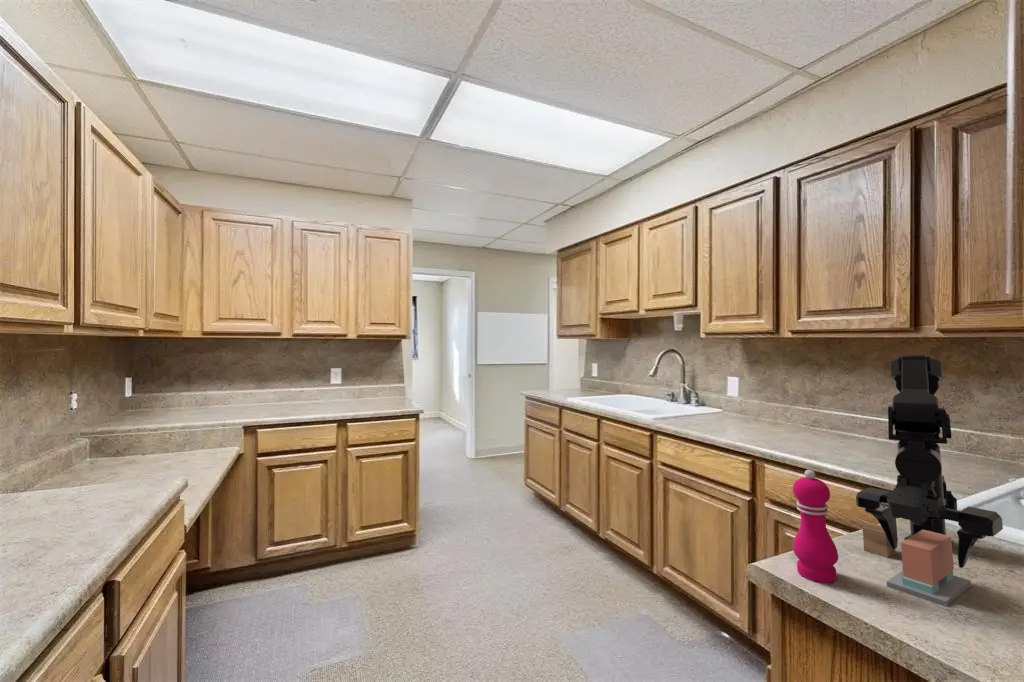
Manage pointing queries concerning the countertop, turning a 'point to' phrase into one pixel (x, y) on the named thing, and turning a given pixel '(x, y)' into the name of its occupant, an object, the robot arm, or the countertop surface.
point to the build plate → (932, 588)
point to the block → (877, 541)
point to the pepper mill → (814, 531)
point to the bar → (927, 557)
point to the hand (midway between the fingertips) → (926, 557)
